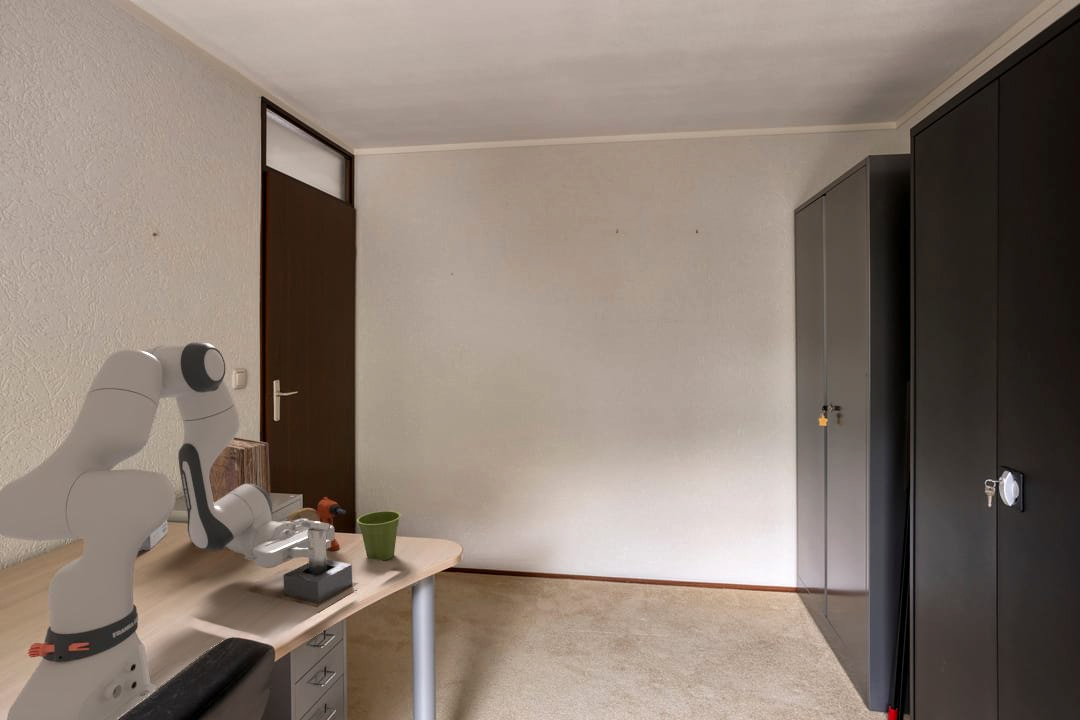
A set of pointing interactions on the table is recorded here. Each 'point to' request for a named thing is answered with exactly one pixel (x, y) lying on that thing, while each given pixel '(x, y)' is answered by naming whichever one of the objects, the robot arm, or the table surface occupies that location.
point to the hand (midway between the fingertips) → (320, 548)
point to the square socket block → (317, 582)
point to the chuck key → (317, 546)
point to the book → (240, 467)
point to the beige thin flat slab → (276, 588)
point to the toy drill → (329, 516)
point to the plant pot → (379, 533)
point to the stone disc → (304, 515)
